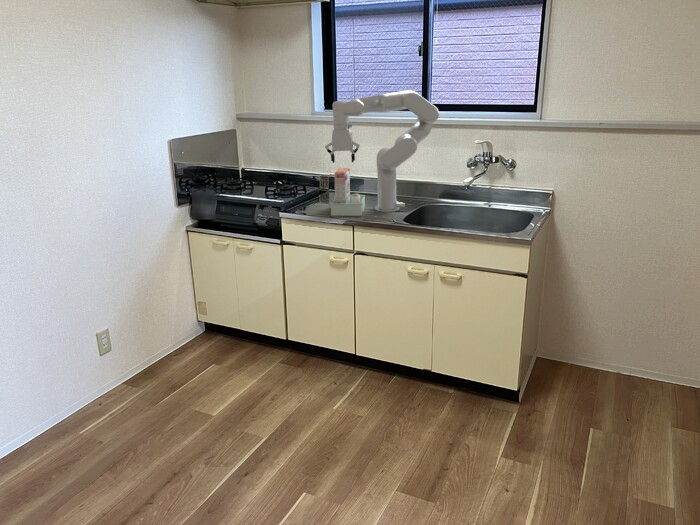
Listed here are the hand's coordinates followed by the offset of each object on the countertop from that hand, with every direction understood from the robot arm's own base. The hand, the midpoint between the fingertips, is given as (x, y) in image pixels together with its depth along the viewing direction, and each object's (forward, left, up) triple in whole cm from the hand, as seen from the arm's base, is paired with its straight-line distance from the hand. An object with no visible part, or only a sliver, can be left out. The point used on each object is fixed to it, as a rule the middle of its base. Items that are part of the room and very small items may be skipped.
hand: (343, 162), depth 283 cm
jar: (-6, 0, -25) cm, 26 cm away
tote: (-2, 0, -26) cm, 26 cm away
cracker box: (+1, 0, -25) cm, 25 cm away
